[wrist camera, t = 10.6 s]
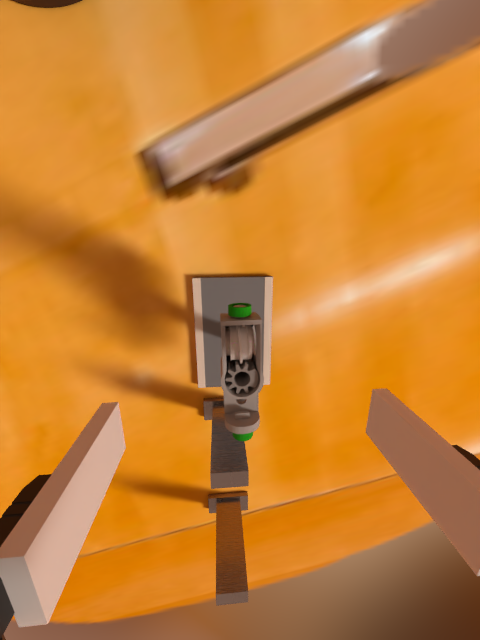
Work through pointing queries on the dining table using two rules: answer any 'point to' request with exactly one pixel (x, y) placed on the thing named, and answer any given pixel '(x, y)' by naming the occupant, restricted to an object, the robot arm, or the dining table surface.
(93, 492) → the robot arm
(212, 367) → the mat
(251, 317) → the mechanical component
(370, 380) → the dining table surface
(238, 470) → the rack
